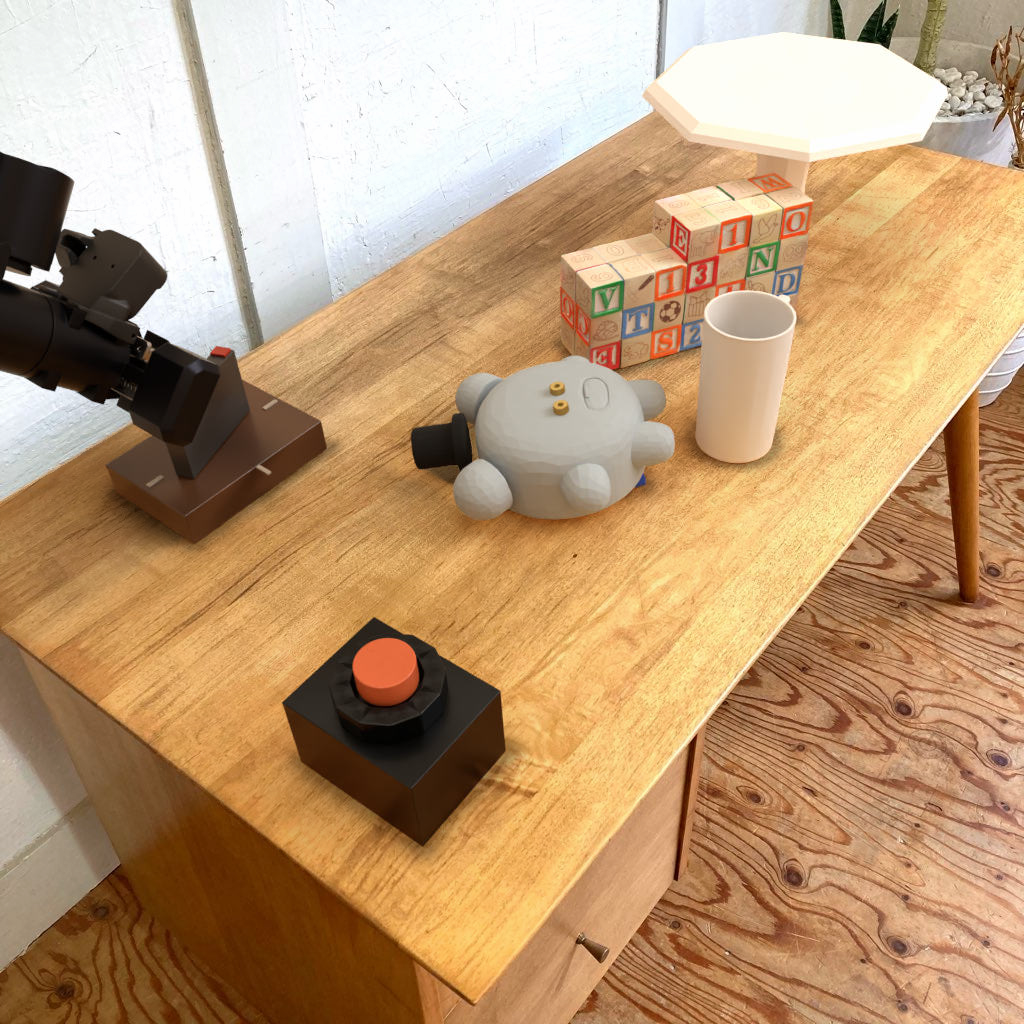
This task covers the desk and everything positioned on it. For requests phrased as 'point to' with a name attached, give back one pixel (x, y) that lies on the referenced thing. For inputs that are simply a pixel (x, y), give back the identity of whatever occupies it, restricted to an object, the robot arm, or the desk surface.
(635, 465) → the figurine
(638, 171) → the desk surface
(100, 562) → the desk surface
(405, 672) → the button
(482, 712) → the button box
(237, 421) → the dial pointer
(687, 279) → the stack of blocks
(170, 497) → the dial panel
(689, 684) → the desk surface
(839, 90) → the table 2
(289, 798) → the desk surface
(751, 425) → the mug
